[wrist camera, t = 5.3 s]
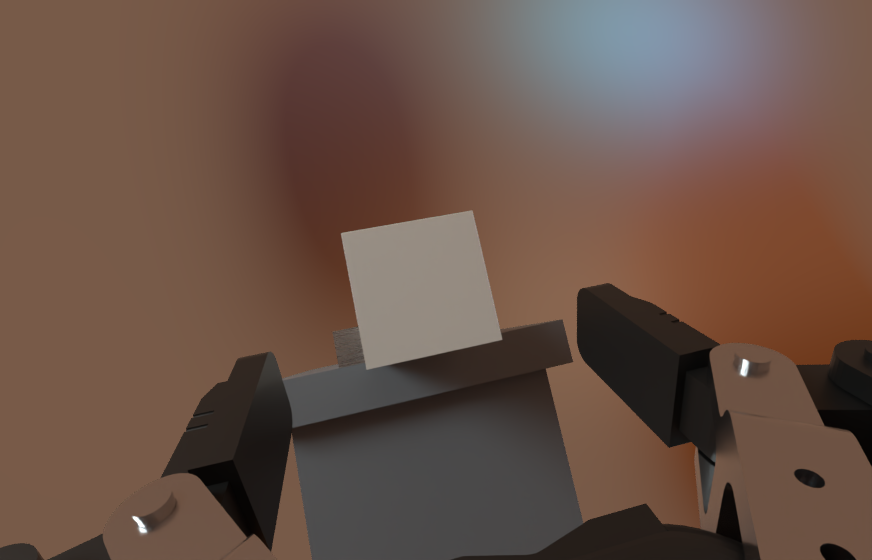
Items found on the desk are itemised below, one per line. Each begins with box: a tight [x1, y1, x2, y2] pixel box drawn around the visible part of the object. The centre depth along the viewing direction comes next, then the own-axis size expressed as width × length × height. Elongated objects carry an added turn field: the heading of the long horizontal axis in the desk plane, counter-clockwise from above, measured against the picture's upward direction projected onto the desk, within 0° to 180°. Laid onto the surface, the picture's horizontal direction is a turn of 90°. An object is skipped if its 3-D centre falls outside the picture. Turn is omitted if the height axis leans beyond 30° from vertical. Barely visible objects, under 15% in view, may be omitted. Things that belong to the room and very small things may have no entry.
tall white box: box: [341, 211, 502, 370], centre depth 22 cm, size 4×22×4 cm, turn 7°
